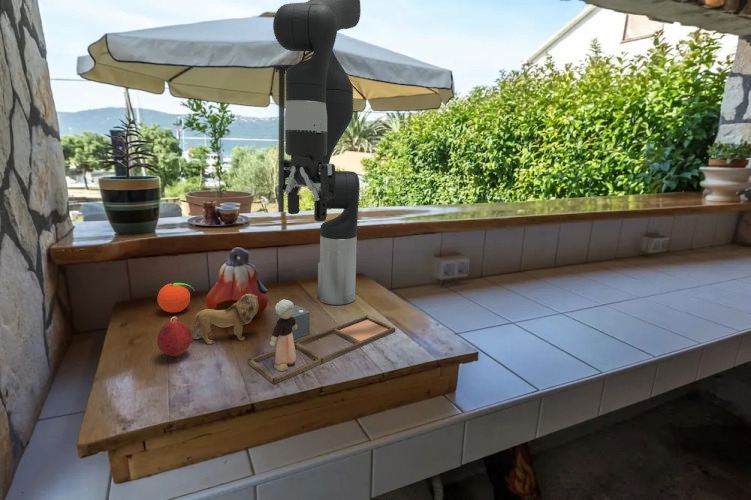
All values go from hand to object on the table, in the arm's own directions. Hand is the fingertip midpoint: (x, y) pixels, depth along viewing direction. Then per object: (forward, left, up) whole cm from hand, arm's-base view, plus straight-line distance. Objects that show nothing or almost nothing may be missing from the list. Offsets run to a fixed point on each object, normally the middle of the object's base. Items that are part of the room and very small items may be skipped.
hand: (306, 217), depth 78 cm
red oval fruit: (-11, -22, -26) cm, 36 cm away
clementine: (-32, -14, -26) cm, 44 cm away
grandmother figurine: (+5, -8, -26) cm, 28 cm away
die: (-5, 0, -26) cm, 27 cm away
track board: (+5, +2, -26) cm, 27 cm away
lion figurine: (-12, -12, -26) cm, 31 cm away
